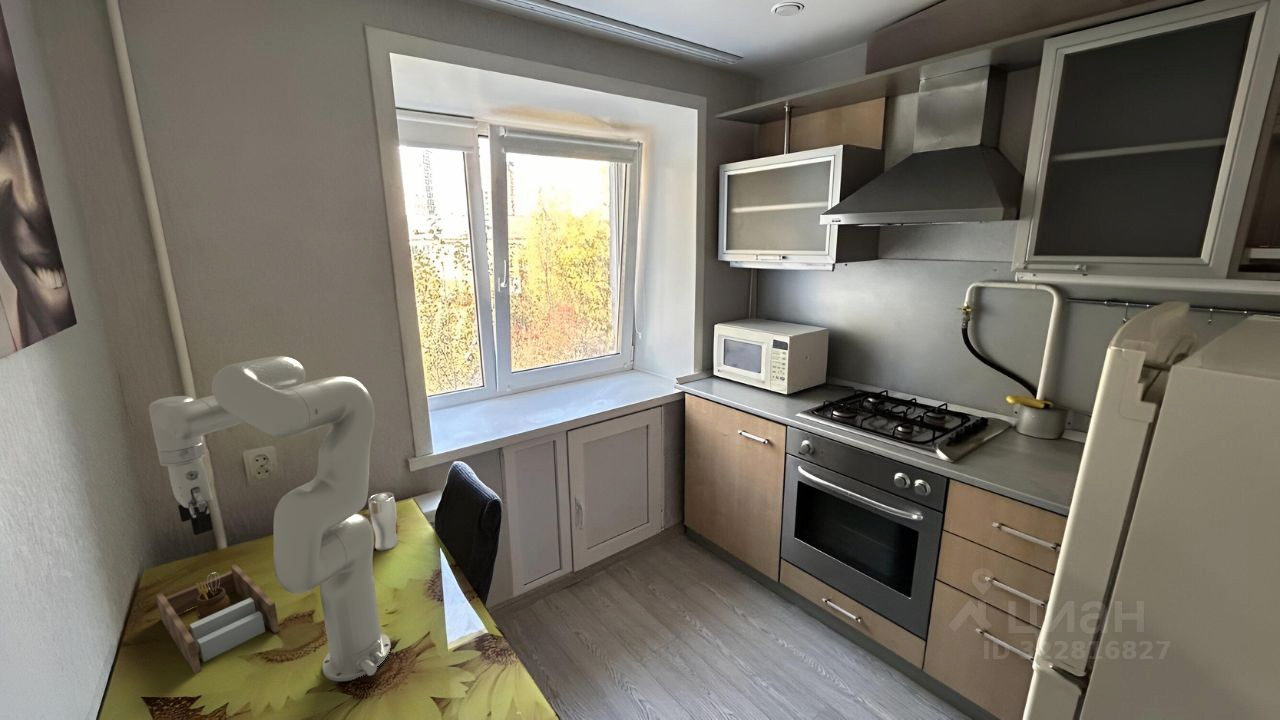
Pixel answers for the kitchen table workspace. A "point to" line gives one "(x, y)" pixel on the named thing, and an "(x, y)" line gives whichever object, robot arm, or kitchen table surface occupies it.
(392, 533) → the beer glass
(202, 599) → the utensil holder
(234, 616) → the offcut near
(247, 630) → the offcut front
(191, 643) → the rack
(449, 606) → the kitchen table surface
